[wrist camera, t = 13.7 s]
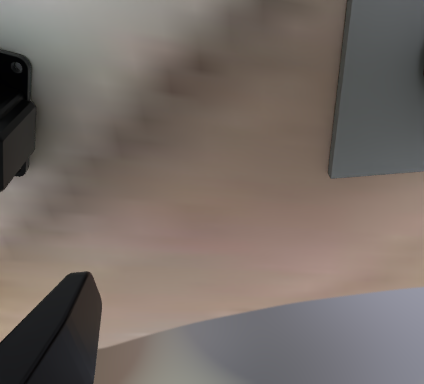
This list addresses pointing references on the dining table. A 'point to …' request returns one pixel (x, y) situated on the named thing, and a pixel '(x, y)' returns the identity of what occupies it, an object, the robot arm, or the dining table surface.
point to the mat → (380, 90)
